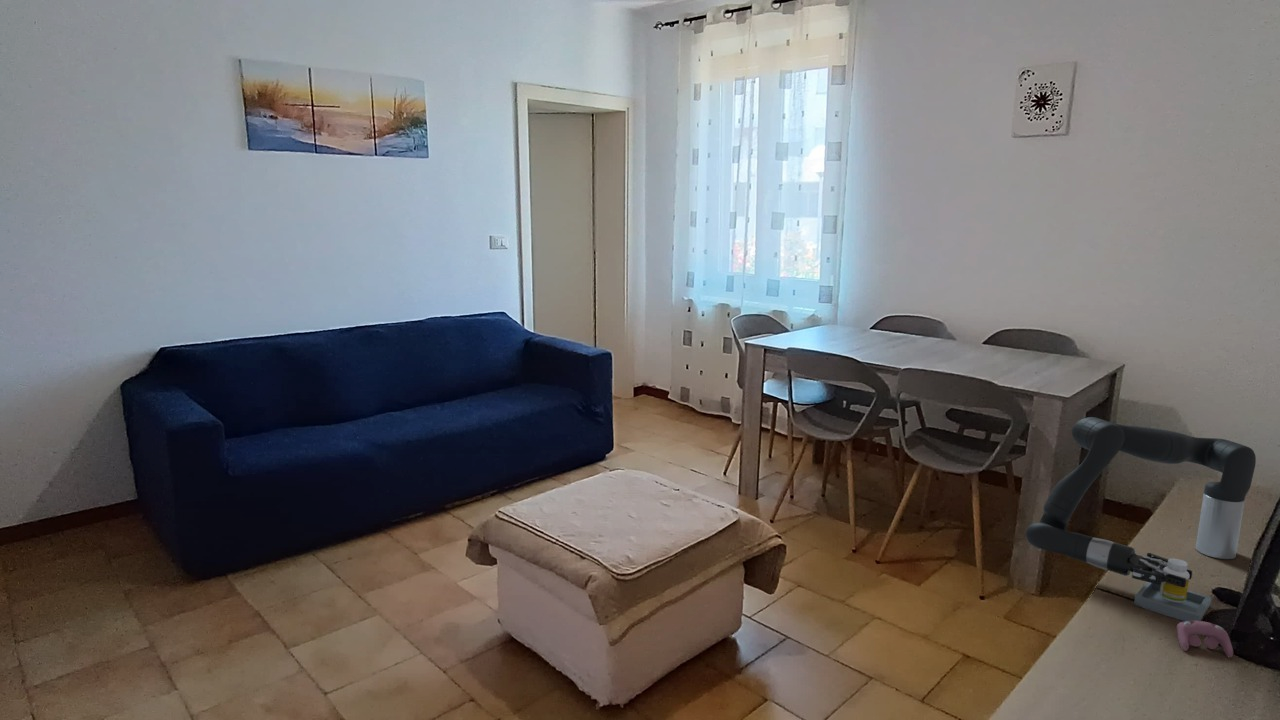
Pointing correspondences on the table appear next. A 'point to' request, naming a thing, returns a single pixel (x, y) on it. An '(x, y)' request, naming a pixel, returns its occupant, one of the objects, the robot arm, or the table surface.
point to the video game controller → (1212, 631)
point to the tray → (1172, 603)
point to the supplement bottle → (1174, 591)
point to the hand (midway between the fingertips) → (1188, 579)
